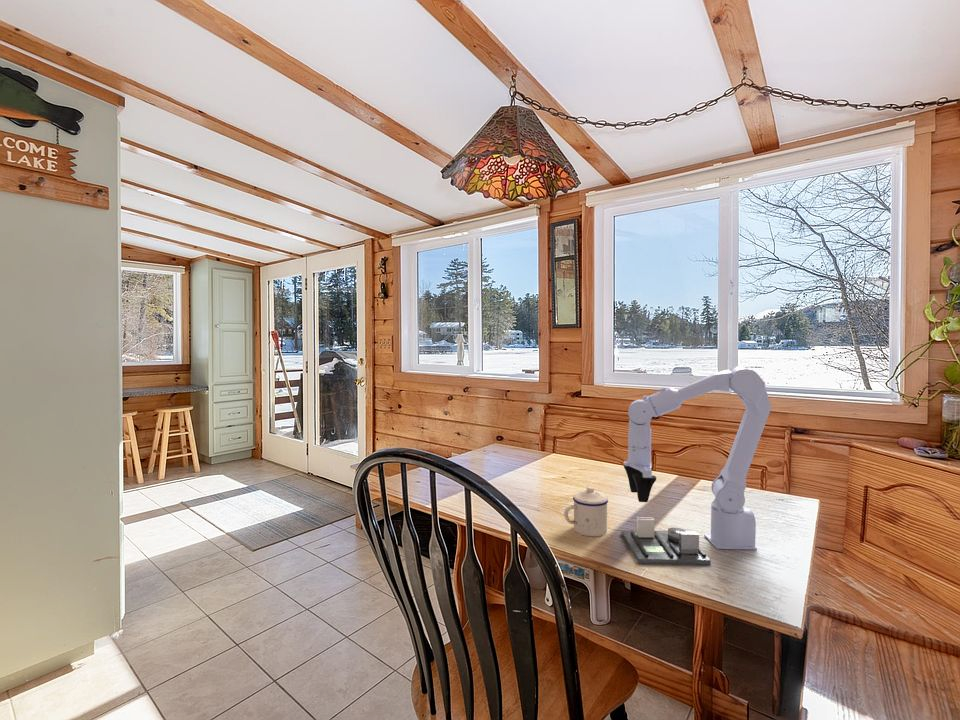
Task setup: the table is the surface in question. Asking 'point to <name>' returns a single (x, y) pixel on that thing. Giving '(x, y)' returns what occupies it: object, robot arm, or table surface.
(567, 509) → the teacup with lid
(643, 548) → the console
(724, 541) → the robot arm
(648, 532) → the fader
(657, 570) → the table surface
